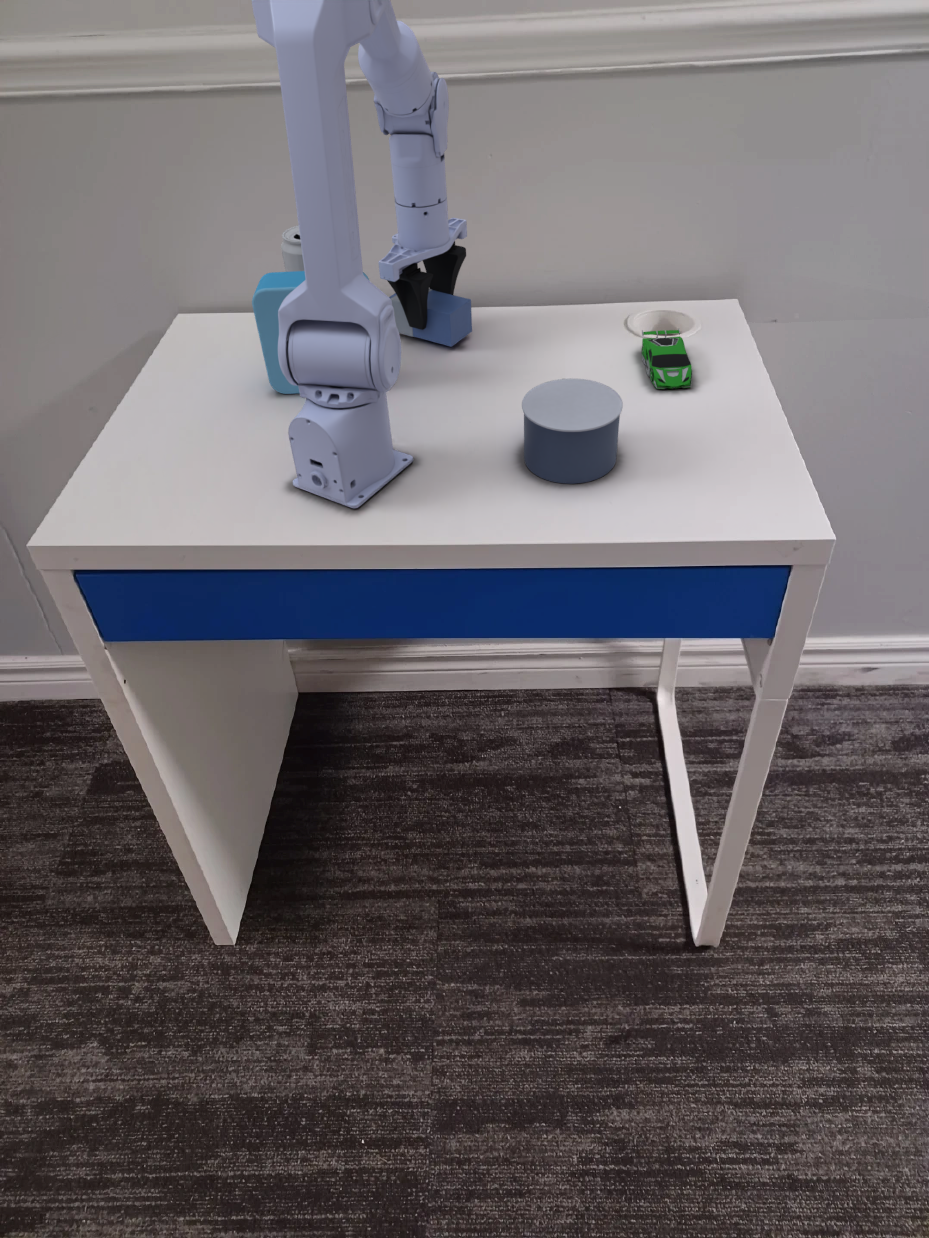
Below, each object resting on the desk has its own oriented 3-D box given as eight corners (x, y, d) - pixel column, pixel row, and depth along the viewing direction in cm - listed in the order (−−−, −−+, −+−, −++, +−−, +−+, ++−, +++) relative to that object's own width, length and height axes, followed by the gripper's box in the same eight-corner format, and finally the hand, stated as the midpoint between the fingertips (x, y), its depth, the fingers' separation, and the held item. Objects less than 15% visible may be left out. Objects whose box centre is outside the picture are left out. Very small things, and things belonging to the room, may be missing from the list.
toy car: (696, 389, 95) (698, 370, 94) (651, 391, 96) (654, 372, 94) (679, 346, 103) (681, 327, 101) (638, 348, 103) (639, 329, 101)
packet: (451, 347, 104) (449, 314, 101) (389, 331, 107) (386, 298, 105) (472, 331, 106) (471, 298, 104) (411, 316, 110) (409, 283, 107)
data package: (381, 371, 102) (368, 267, 94) (378, 391, 99) (364, 285, 90) (278, 375, 102) (256, 272, 94) (271, 395, 99) (248, 290, 91)
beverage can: (288, 340, 109) (268, 240, 100) (310, 317, 113) (292, 220, 105) (336, 344, 107) (320, 244, 99) (356, 321, 111) (342, 223, 103)
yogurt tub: (590, 496, 82) (593, 440, 78) (504, 468, 86) (502, 413, 82) (634, 447, 88) (639, 393, 84) (551, 423, 92) (552, 370, 88)
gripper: (428, 173, 102) (436, 289, 112) (350, 214, 94) (366, 335, 103) (480, 182, 99) (484, 300, 109) (404, 225, 91) (415, 349, 100)
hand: (430, 318), depth 106 cm, fingers closed on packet, 4 cm apart
